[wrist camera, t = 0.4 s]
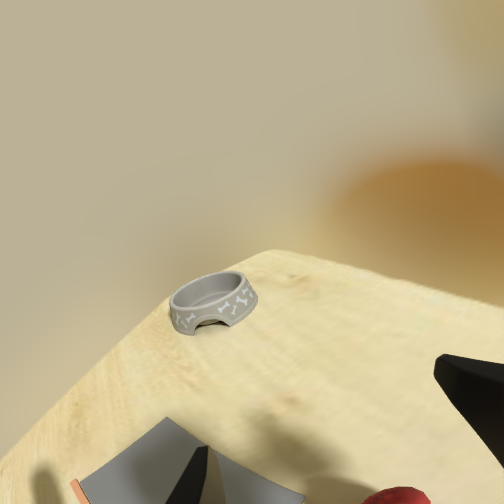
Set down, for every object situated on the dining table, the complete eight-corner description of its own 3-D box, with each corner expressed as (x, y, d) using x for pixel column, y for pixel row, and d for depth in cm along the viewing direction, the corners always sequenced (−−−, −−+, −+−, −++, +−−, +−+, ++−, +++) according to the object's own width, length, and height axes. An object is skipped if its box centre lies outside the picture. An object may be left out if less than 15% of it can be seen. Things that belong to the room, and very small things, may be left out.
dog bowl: (180, 302, 63) (172, 282, 61) (254, 282, 63) (248, 260, 61) (166, 343, 47) (154, 319, 45) (262, 320, 46) (254, 293, 45)
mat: (187, 605, 4) (185, 605, 4) (81, 483, 17) (79, 482, 17) (306, 497, 15) (305, 496, 15) (168, 418, 28) (166, 416, 28)
